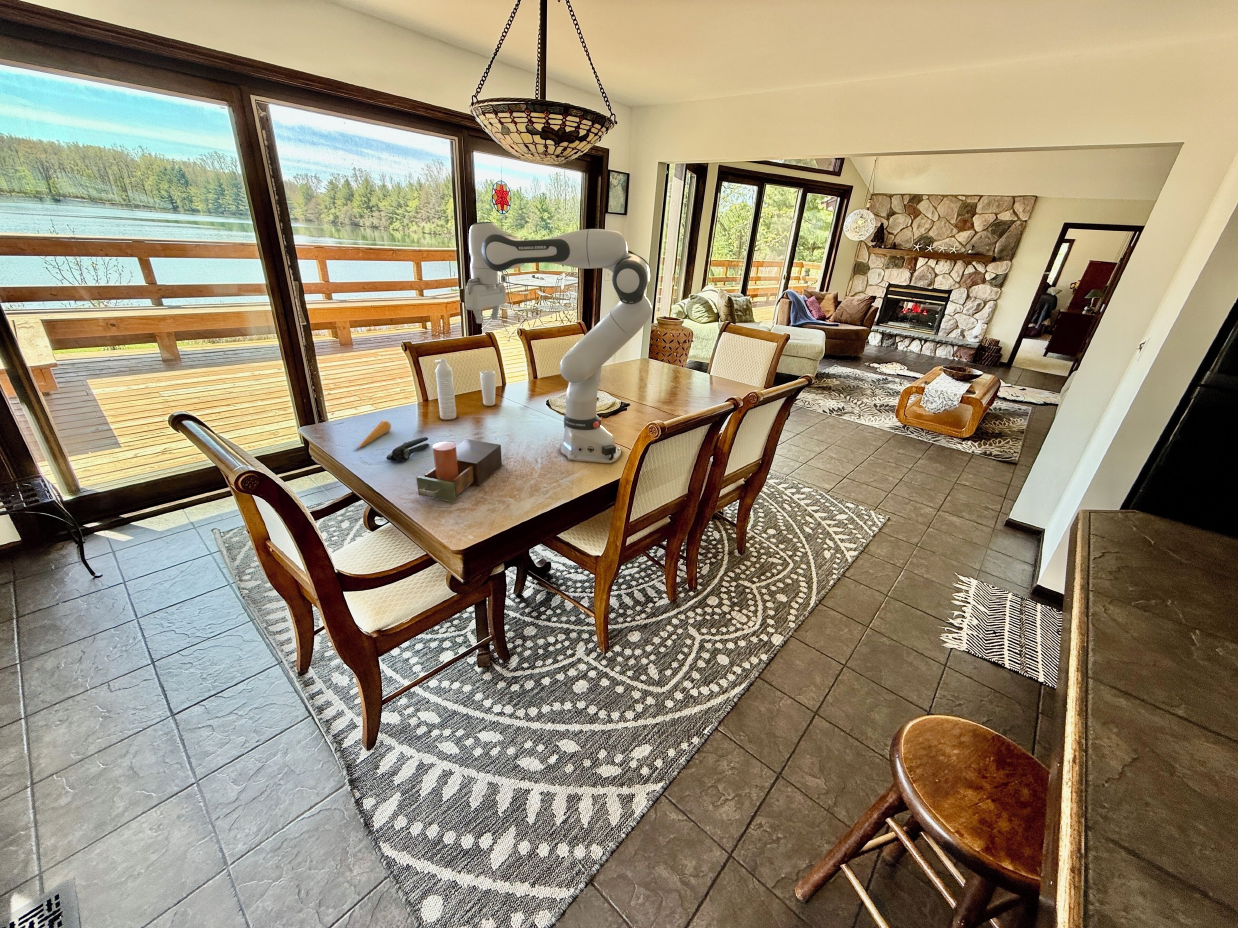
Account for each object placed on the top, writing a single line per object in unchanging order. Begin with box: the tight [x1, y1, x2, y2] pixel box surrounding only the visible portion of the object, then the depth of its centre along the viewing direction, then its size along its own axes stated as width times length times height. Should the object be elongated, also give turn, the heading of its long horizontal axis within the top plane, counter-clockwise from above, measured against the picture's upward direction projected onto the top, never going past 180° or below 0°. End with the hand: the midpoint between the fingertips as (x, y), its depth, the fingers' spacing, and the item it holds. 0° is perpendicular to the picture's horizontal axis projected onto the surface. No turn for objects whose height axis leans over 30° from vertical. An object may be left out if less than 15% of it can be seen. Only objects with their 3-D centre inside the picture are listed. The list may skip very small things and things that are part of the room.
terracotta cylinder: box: [432, 441, 459, 482], centre depth 143 cm, size 6×6×13 cm
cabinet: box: [456, 438, 503, 487], centre depth 157 cm, size 16×13×8 cm
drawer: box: [415, 463, 475, 503], centre depth 143 cm, size 19×12×6 cm, turn 165°
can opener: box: [385, 436, 430, 462], centre depth 166 cm, size 18×7×6 cm, turn 160°
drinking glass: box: [479, 369, 497, 407], centre depth 216 cm, size 7×7×15 cm
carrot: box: [357, 420, 392, 450], centre depth 176 cm, size 20×4×4 cm, turn 174°
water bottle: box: [434, 357, 457, 421], centre depth 195 cm, size 9×6×25 cm
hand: (487, 321), depth 162 cm, fingers open, 8 cm apart
